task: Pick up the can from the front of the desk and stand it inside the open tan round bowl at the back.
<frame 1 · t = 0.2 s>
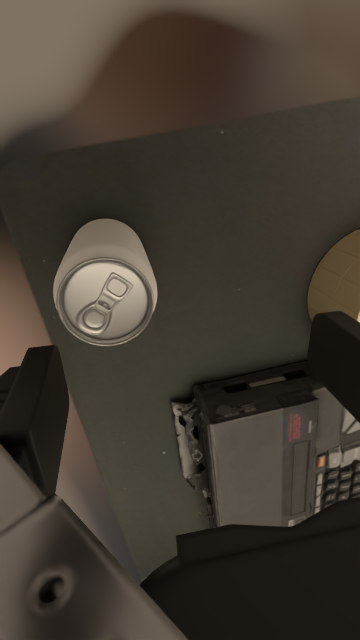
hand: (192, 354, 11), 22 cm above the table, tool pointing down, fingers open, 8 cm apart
can: (107, 254, 31), on the table
vintage computer: (285, 482, 49), on the table
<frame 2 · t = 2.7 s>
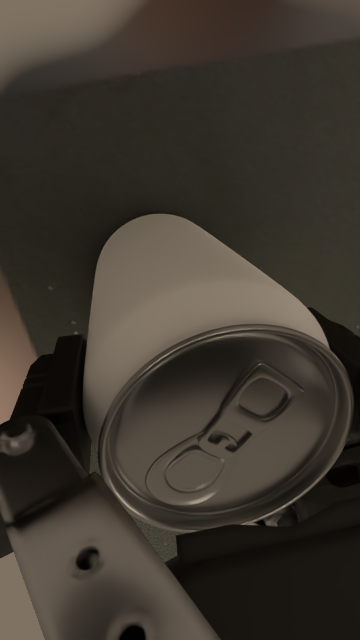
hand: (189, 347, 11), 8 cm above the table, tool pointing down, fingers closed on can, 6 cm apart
can: (158, 274, 18), on the table, touching gripper
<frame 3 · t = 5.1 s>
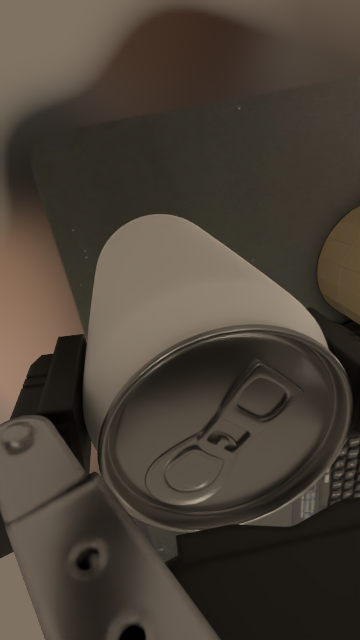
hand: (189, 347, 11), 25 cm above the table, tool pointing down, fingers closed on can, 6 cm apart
can: (158, 274, 18), point 17 cm above the table, touching gripper
vintage computer: (295, 454, 51), on the table
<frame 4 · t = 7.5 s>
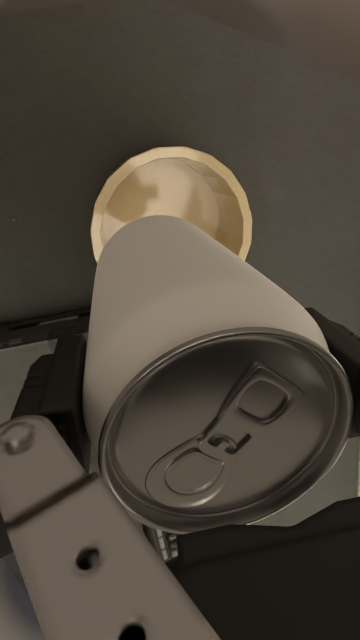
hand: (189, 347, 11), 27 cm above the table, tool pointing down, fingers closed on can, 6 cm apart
can: (158, 275, 18), point 19 cm above the table, touching gripper
vintage computer: (131, 439, 47), on the table
tan round bowl: (161, 222, 36), on the table
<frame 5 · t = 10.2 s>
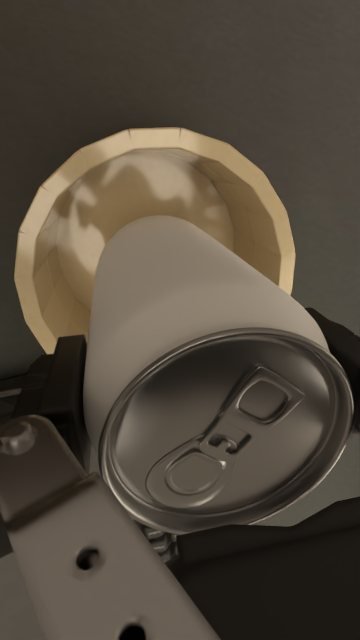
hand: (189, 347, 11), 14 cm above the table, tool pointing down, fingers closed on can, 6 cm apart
can: (158, 275, 18), point 6 cm above the table, touching gripper
vintage computer: (110, 530, 36), on the table
tan round bowl: (148, 248, 24), on the table
when the fingers open (8 cm above the table, at t = 12.3 s): can stays where it is, resting on tan round bowl.
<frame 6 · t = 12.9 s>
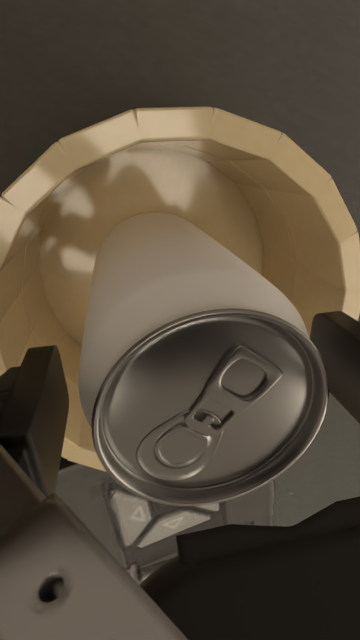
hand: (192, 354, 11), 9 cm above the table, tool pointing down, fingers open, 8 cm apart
can: (154, 271, 19), resting on tan round bowl
vintage computer: (109, 588, 31), on the table
tan round bowl: (156, 269, 19), on the table
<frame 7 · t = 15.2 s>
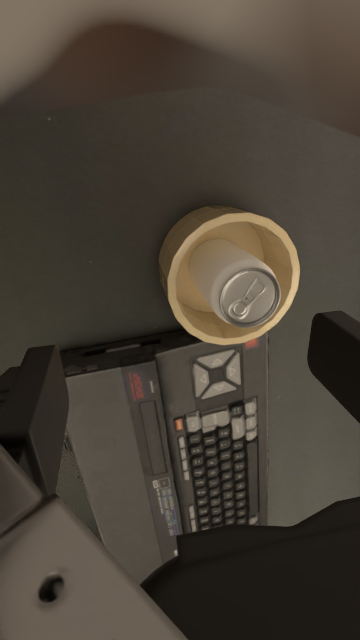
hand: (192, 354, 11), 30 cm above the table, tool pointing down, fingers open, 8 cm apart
can: (214, 264, 41), resting on tan round bowl
vintage computer: (171, 453, 52), on the table
tan round bowl: (214, 264, 41), on the table
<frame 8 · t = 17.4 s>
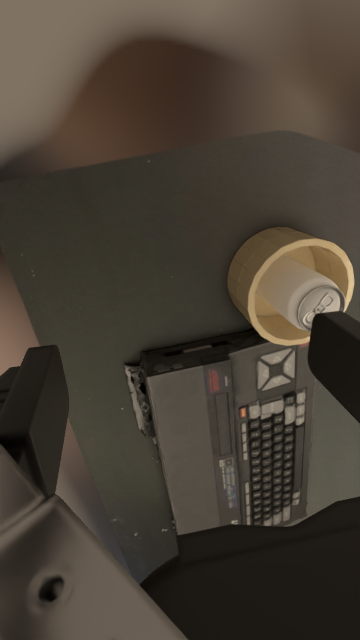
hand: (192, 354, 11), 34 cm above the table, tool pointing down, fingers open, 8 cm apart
can: (273, 276, 48), resting on tan round bowl
vintage computer: (226, 437, 60), on the table
tan round bowl: (273, 275, 48), on the table
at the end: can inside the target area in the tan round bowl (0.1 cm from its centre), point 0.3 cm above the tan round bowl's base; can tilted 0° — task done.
